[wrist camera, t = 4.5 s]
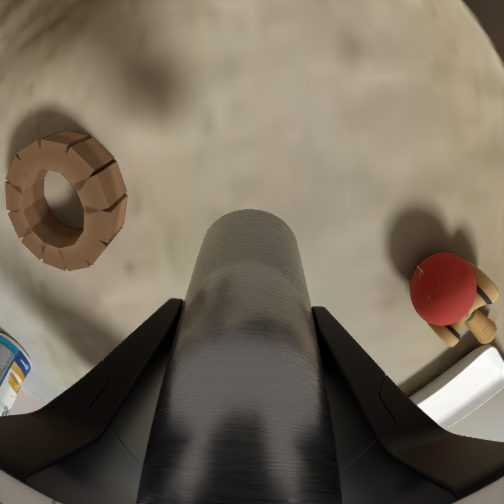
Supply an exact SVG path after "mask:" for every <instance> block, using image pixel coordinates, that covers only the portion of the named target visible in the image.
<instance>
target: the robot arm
mask: <svg viewBox="0 0 504 504" xmlns="http://www.w3.org/2000/svg"><path fill="white" fill-rule="evenodd" d="M183 304H184V301H183V300H182V299H177V298H171V299H169V300H168V301H167V302H166V303H165V304H164V305H162V306H161V307H160V308H159V309H158V310H157V311H156V312H155V313H153V314H152V315H151V316H150V317H149V318H148V319H147V320H146V321H145V322H143V323H142V324H141V325H140V326H139V327H138V328H137V329H136V330H135V331H134V332H132V333H131V334H130V335H129V336H128V337H127V338H126V339H125V340H124V341H123V342H121V343H120V344H119V345H118V346H117V347H116V348H115V349H114V350H113V351H112V352H111V353H109V354H108V355H107V356H106V357H105V358H104V361H103V360H102V361H101V362H100V363H98V364H97V365H96V366H95V367H94V368H93V369H92V370H91V371H89V372H88V373H87V374H86V375H85V376H84V377H83V378H81V379H80V380H79V381H77V382H76V383H75V384H74V385H72V386H71V387H70V388H68V389H67V390H66V391H64V392H63V393H62V394H60V395H59V396H57V397H56V398H55V399H53V400H52V401H51V402H49V403H48V404H47V405H45V406H44V407H42V408H41V409H39V410H37V411H34V412H31V413H28V414H19V415H7V416H0V504H136V499H137V494H138V488H139V483H140V478H141V473H142V468H143V463H144V458H145V453H146V449H147V444H148V439H149V435H150V430H151V426H152V422H153V417H154V413H155V409H156V405H157V401H158V397H159V393H160V389H161V385H162V381H163V377H164V373H165V369H166V365H167V361H168V358H169V354H170V350H171V346H172V343H173V339H174V335H175V332H176V328H177V325H178V321H179V318H180V314H181V311H182V307H183ZM311 308H312V313H313V318H314V323H315V328H316V333H317V339H318V344H319V349H320V354H321V360H322V365H323V371H324V376H325V382H326V388H327V394H328V400H329V406H330V412H331V418H332V425H333V432H334V438H335V445H336V452H337V460H338V467H339V475H340V483H341V492H342V501H343V504H504V442H497V441H490V440H484V439H478V438H472V437H466V436H461V435H456V434H453V433H451V432H449V431H447V430H445V429H444V428H442V427H441V426H440V425H438V424H437V423H436V422H435V421H434V420H433V419H432V418H431V417H429V416H428V415H427V414H426V413H425V412H424V411H423V410H422V409H420V408H419V407H418V406H417V405H416V404H415V403H414V402H413V401H412V400H411V399H410V398H409V397H407V396H406V395H405V394H404V393H403V392H402V391H401V390H400V389H399V388H398V386H397V385H396V384H395V383H394V382H393V381H392V380H391V379H390V378H389V377H388V376H387V375H385V372H384V371H383V370H382V369H381V368H380V367H379V366H378V365H377V364H376V363H375V361H374V360H373V359H372V358H371V357H370V356H369V355H368V354H367V353H366V352H365V350H364V349H363V348H362V347H361V346H360V345H359V344H358V343H357V342H356V341H355V340H354V338H353V337H352V336H351V335H350V334H349V333H348V332H347V331H346V330H345V329H344V328H343V327H342V325H341V324H340V323H339V322H338V321H337V320H336V319H335V318H334V317H333V316H332V315H331V314H330V312H329V311H328V310H327V309H326V308H325V307H322V306H313V307H311Z"/></svg>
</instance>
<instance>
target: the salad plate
mask: <svg viewBox="0 0 504 504" xmlns="http://www.w3.org/2000/svg"><path fill="white" fill-rule="evenodd" d="M503 387H504V361H503V359H502V357H501V356H500V354H499V352H498V350H497V349H496V348H495V347H494V346H492V345H483V346H481V347H478V348H476V349H475V350H473V351H472V352H470V353H469V354H468V355H467V356H465V357H464V358H462V359H461V360H459V361H458V362H457V363H456V364H454V365H453V366H452V367H450V368H449V369H448V370H446V371H445V372H444V373H442V374H441V375H440V376H438V377H437V378H436V379H434V380H433V381H432V382H430V383H429V384H427V385H426V386H425V387H423V388H422V389H420V390H419V391H417V392H416V393H415V394H413V395H412V396H410V397H409V398H410V399H411V400H412V401H413V402H414V403H415V404H416V405H417V406H418V407H419V408H420V409H422V410H423V411H424V412H425V413H426V414H427V415H428V416H429V417H431V418H432V419H433V420H434V421H435V422H436V423H437V424H438V425H440V426H441V427H442V428H444V429H447V428H448V427H450V426H452V425H454V424H455V423H457V422H458V421H460V420H461V419H463V418H464V417H466V416H467V415H469V414H470V413H471V412H473V411H474V410H476V409H477V408H478V407H480V406H481V405H482V404H484V403H485V402H486V401H488V400H489V399H490V398H491V397H493V396H494V395H495V394H496V393H497V392H499V391H500V390H501V389H502V388H503Z"/></svg>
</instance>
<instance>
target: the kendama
mask: <svg viewBox="0 0 504 504" xmlns="http://www.w3.org/2000/svg"><path fill="white" fill-rule="evenodd" d="M499 294H500V293H499V290H498V289H497V287H496V286H495V284H494V283H493V282H492V281H491V280H490V279H489V278H488V276H487V275H486V274H484V273H483V272H482V271H481V270H480V269H479V268H478V267H476V266H475V265H474V264H472V263H470V262H466V261H465V260H464V259H463V258H461V257H460V256H458V255H456V254H453V253H449V252H440V253H436V254H433V255H431V256H429V257H427V258H426V259H424V260H423V261H422V262H421V263H420V264H419V265H417V268H416V270H415V272H414V274H413V276H412V280H411V284H410V296H411V301H412V304H413V306H414V308H415V310H416V312H417V313H418V314H419V315H420V316H421V317H422V318H423V319H424V320H425V321H426V322H427V323H428V325H429V326H430V327H431V328H432V329H433V331H434V332H435V333H436V334H437V335H438V336H439V337H440V338H441V339H442V340H443V341H444V342H445V343H446V344H448V345H449V346H450V347H453V346H454V345H456V344H457V343H458V342H459V340H460V333H461V329H462V326H463V324H464V322H465V324H466V325H467V327H468V328H469V330H470V331H471V332H472V333H473V334H474V336H475V337H476V339H477V340H478V341H479V342H480V343H482V344H487V343H490V342H491V341H492V340H493V339H494V337H495V335H496V325H495V324H494V322H493V321H491V320H490V319H489V318H487V317H486V316H485V315H484V314H483V313H482V312H480V311H479V310H478V309H477V308H479V307H481V306H483V305H487V304H493V303H494V302H495V301H496V299H497V298H498V296H499Z"/></svg>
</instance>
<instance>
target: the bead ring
mask: <svg viewBox="0 0 504 504" xmlns="http://www.w3.org/2000/svg"><path fill="white" fill-rule="evenodd" d="M113 158H114V157H113V156H112V155H111V154H110V153H109V152H108V151H107V150H106V149H105V148H104V147H103V146H102V145H101V144H100V143H99V142H98V141H97V140H96V139H95V138H94V137H92V138H90V139H89V135H86V134H81V133H76V132H70V131H62V132H61V131H60V132H58V133H55V134H52V135H50V136H47V137H44V138H42V139H39V140H37V141H35V142H34V143H32V144H30V145H29V146H27V147H26V148H24V149H22V150H21V151H19V152H18V154H17V155H15V157H14V160H13V162H12V164H11V167H10V169H9V172H8V174H7V177H6V179H7V180H8V181H7V182H5V189H6V206H7V210H10V211H11V212H9V213H8V215H9V217H10V220H11V222H12V224H13V226H14V229H15V231H16V233H17V235H18V237H19V238H21V237H23V239H22V243H23V244H24V245H25V246H26V247H27V248H28V249H29V250H30V251H31V252H32V253H33V254H34V255H35V256H36V257H37V258H38V259H39V260H41V258H42V257H43V263H46V264H48V265H51V266H54V267H56V268H59V269H61V270H64V271H65V270H66V269H68V271H72V270H77V269H82V268H87V267H90V265H93V263H94V262H95V261H96V260H97V258H98V257H99V256H100V255H101V253H102V252H103V251H104V249H105V248H106V247H107V246H108V244H109V243H110V242H111V241H112V239H113V238H114V237H115V236H116V234H117V233H118V232H119V231H120V230H121V228H122V225H123V224H124V219H125V211H126V203H127V196H126V195H123V194H124V193H126V192H127V190H126V187H125V184H124V181H123V179H122V176H121V173H120V170H119V167H118V164H117V162H115V163H112V164H110V162H111V161H112V160H113ZM48 170H51V171H55V172H59V173H61V174H62V175H63V176H64V177H65V178H66V179H67V180H68V181H69V182H70V183H71V184H72V185H73V186H74V187H75V188H76V191H77V193H78V196H79V198H80V201H81V203H82V206H83V208H84V228H83V229H80V230H77V229H74V228H71V227H68V226H65V225H63V224H62V223H61V222H60V221H59V220H57V219H56V218H55V217H54V216H53V215H52V214H51V212H50V210H49V208H48V205H47V203H46V200H45V198H44V177H45V175H46V173H47V171H48Z"/></svg>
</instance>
